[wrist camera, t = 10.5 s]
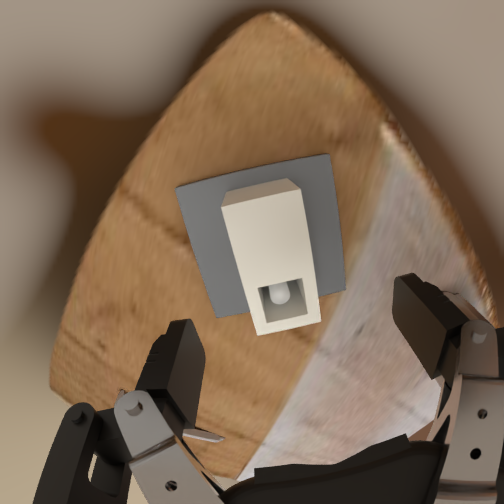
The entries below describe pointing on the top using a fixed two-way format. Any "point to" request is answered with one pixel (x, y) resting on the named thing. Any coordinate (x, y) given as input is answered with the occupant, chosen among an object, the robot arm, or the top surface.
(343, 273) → the pin plate
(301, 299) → the socket block
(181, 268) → the top surface
